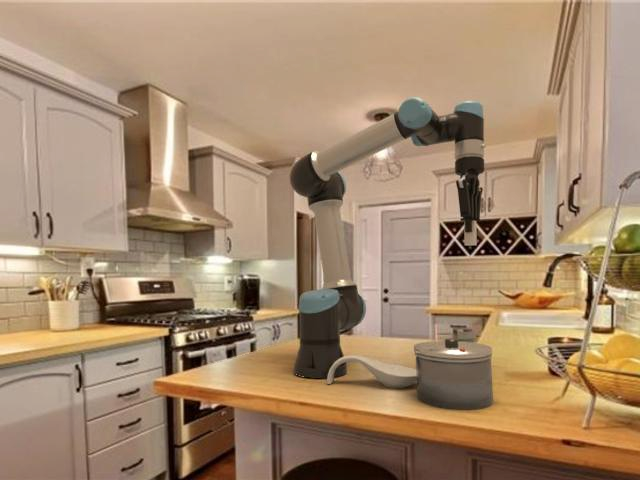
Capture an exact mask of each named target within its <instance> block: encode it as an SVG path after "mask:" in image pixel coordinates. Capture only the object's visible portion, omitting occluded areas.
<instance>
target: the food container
mask: <svg viewBox="0 0 640 480" xmlns="http://www.w3.org/2000/svg"><path fill="white" fill-rule="evenodd" d="M476 337H477V336H476V332H475V331H474V329H473V328H468V327H467V328H466V327H452V339H458V341H462V342H473V343H475V342H474V341H475V340H474V339H476Z"/></svg>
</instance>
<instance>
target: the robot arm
mask: <svg viewBox="0 0 640 480" xmlns="http://www.w3.org/2000/svg"><path fill="white" fill-rule="evenodd" d="M483 107H484V106H483V105H482V104H481V102H480V101H479V102H478V101H475V100H466V101H462V102H461V103H457V104H456V105H455V107H454V110H453V113H448V114H445V115H438V114H437V113H436V112H435V111H434V110H433V109H432V107H431V106H430V104H429V103H428V102H426V101H425V100H424V99H422V98H421V97H416V96H413V97H409V98H406V99H405V100H404V101H403V102H402V103H401V105H399V108H398V110H397V111H396V112H395V113H393V114H391V115H389V116H386V117H385V118H383V119H381V120H379V121H377V122H375V123H373V124H371V125H369V126H368V127H365V128H364V129H362V130H360V131H357V132H356V133H354V134H352V135H350V136H348V137H346V138H344V139H342V140H341V141H338V142H336V143H334V144H332V145H331V146H328V147H326V148H324V149H323V150H321V151H318V150H313V151H311V152H310V153H308V154H305V155H304V156H302V157H301V158H299V160H297V161H295V163H294V165H293V166H292V168H291V169H290V172H289V183H290V185H291V188H292V189H293V191H294V192H295V193H296V194H297V195H299V196H301V197H304V198H306V199H307V205H308V209H309V211H311V212H312V213H313V215H314V221H315V222H314V223H315V227H316V234H317V235H316V236H317V240H318V249H319V254H320V261H321V268H322V275H323V280H324V285H323V286H322V287H321V289H316V290H315V289H313V290H309V291H305V292H303V293H301V294H300V296H299V300H298V301H299V303H298V310H299V311H298V312H299V313H298V314H299V315H298V316H299V317H298V318H299V320H298V323H299V347H298V351H297V354H296V358H295V361H294V364H293V374H294V373H295V374H297V375H300V376H304V377H311V378H310V379H315V378H322V379H327V377H328V373H329V370H330V368H331V367H332V365H333V364H334V363H335V362H336V361H337V360H338V359H340V358H342V357H344V356H345V355H344V353H343V350H342V346H341V331H344V330H346V331H347V330H351V329H353V328H355V327H357V326H358V325H360V324H361V323H362V321H363V320H364V319H365V317H366V312H367V305H366V300H365V299H364V298H363V296H362V295H361V294H360V293H359V291H358V290H359V289H358V285H357V283H356V282H354V281H353V280H352V277H351V271H350V266H349V259H348V252H347V248H346V247H347V246H346V241H345V236H344V235H345V234H344V228H343V221H342V216H341V209H340V208H341V207H342V206H343V204H344V195H345V194H346V190H347V184H346V183H347V182H346V180H345V178H344V176H343V175H342V174H341V172H340V171H342V170H344V169H346V168H348V167H351V166H352V165H355V164H357V163H359V162H361V161H364V160H366V159H367V158H370V157H372V156H373V155H375V154H377V153H379V152H382V151H384V150H386V149H388V148H390V147H391V146H394V145H397V144H398V143H400V142H403V141H404V140H407V139H409V138H411V141H412V144H413V145H414V146H416V147H429V146H433V145H439V144H443V143H450V142H454V159H455V162H454V173H455V175H457V176H460V177H459V179H457V180H455V185H456V189H457V195H458V196H457V197H458V204H459V206H458V207H459V213H460V214H459V215H460V218H459V219H460V221H463V223H464V225H463V228H464V239H463V240H464V246H477V245H478V243H477V241H478V240H477V233H478V232H477V222H480V221H481V207H482V206H481V205H482V195H483V190H484V189H483V187H480V179H479V176H480V175H481V174H483V173H485V159H484V155H485V150H484V149H485V148H486V147H487V146H486V144H485V143H484V142H485V140H484V139H485V136H484V134H485V132H484V131H485V129H484V127H485V126H484V125H485V119H484V109H483ZM347 373H348V367H347V362H345V363H342V364H341V365H339V366H338V367H337V368H336V370H335V372H334V378H338V377H337V376H339V377H341V375H342V376H345V375H346V374H347ZM295 374H294V375H295ZM297 375H296V376H297ZM304 377H303V378H304Z"/></svg>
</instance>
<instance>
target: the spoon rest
mask: <svg viewBox="0 0 640 480" xmlns="http://www.w3.org/2000/svg"><path fill="white" fill-rule="evenodd" d="M345 362H346V363H347V362H355V363H358V364H360V365H362V366H363V367H364V368H366V370H368V371H369V373H371V375H373V376H374V377H375V379H376V380H377V381H378V382H380V383H381V384H382V386H384V387H387V388H391V389H403V388H408V387H410V386H412V385H414V384H416V383H417V378H416V368H412V367H410V366H409V367H408V366H405V365H397V364H392V363H386V362H382V361H379V360H376V359H373V358H369V357H365V356H362V355H356V354H350V355H344V357H342V358H340V359H338V360H337V361H336V362H335V363H334V364H333V365H332V367H331V368H330V370H329V373H328V377H327V378H326V384H327V385H328V384H330V385H332V384H333V381H334V378H335V377H334V372H335V370H336V368H337V367H338V366H339V365H341V364H342V363H345ZM331 383H332V384H331Z"/></svg>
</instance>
